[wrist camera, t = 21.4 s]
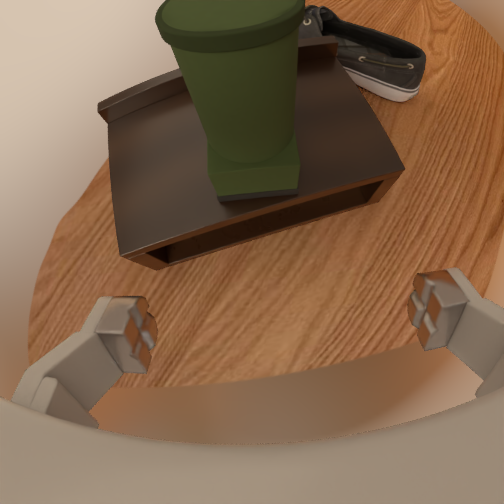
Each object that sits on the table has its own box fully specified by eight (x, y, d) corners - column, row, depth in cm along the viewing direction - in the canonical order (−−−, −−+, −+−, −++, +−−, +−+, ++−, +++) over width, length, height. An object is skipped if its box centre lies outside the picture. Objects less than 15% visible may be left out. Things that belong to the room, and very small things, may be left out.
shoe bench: (378, 202, 26) (415, 156, 17) (156, 270, 26) (105, 250, 18) (323, 94, 29) (333, 35, 20) (136, 150, 30) (97, 103, 21)
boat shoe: (218, 50, 32) (206, 2, 24) (252, 20, 33) (247, -23, 25) (405, 124, 28) (432, 77, 19) (419, 84, 29) (440, 40, 21)
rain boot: (299, 194, 19) (323, 33, 7) (217, 202, 20) (141, 57, 7) (279, 78, 22) (274, -55, 9) (214, 85, 22) (178, -43, 9)
